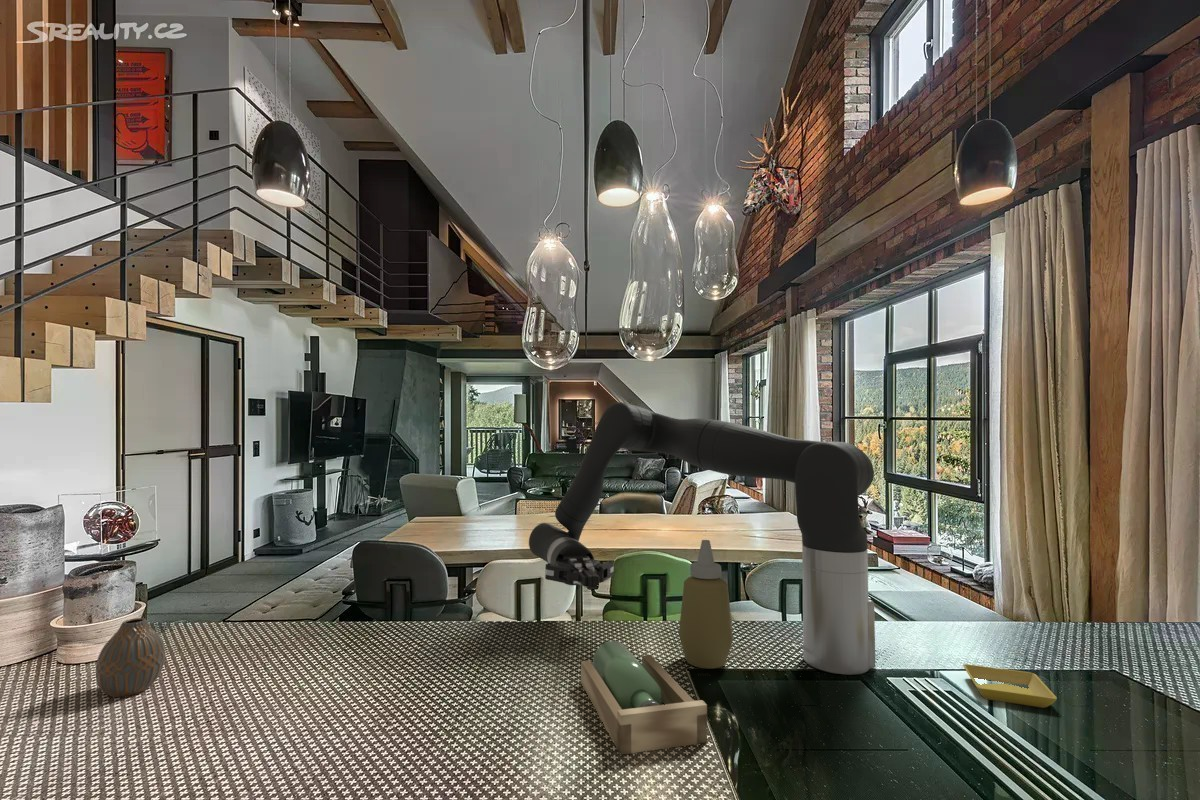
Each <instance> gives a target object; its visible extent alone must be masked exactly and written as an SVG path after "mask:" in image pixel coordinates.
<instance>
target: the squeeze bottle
mask: <svg viewBox="0 0 1200 800" xmlns="http://www.w3.org/2000/svg"><path fill="white" fill-rule="evenodd" d="M689 569H690V570H689V572H690V573H689V574H690V576H688V577H687V578H686V579H685V580H684V581H683V588H682V589H683V590H682V599H681V600H682V601H681V609H680V620H679V626H678V627H679V630H678V637H679V640H680V644H681V648H682V651H683V653H684V657H685V660H686V662H687V663H688V664H689V665H690V666H694V667H696V668H700V669H710V670H711V669H720V668H722V667H724V666H725V665H726V664H727V663H726V662H727V660H728V656H729V654H730V651H731V647H732V645H733V641H734V633H733V624H732V614H731V605H730V603H731V602H730V595H729V584H728V583H727V581H726V580H724V579H723V578H721V577H722V565H720V564H719V563H716V562H715V559H714V555H713V551H712V545H711V541H710V540H709V539H702V540H701V543H700V548H699V552H698V557H697V561H694V562H691V563H690V565H689Z"/></svg>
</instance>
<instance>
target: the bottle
mask: <svg viewBox="0 0 1200 800" xmlns="http://www.w3.org/2000/svg"><path fill="white" fill-rule="evenodd" d="M592 665H593V666H594V668H595V669H596V671H597V672H598V674H599V675H600V677H601V678H602V680H603V681H604V683H605V684H606V686H607V688H608V689H609V691H610V692H611V694H612V695H613V697H614V698H615V700H616V701H617V703H618V704H619V706H620V707H621V709H622V710H623V709H631V708H640V707H648V706H656V705H662V701H661V699H662V695H661V690H660V688H659V686H658V684H657V683H656V682H655V680H654V679H653V678H652V677H651V676H650V675H649V673H648V672H647V671H646V670H645V669H644V667H643V666H642V663H640V662H639V661H638V659H637V658H636V657H635V656H634V654H633V653H632V652H631V651H630V650H629V649H628V648H627V646H626V645H625V644H623V643H622V642H620V641H617V640H610V641H606V642H604V643H603V644H600V645H599V647H597V649H596V650H595V652H594V655H593V658H592Z"/></svg>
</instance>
